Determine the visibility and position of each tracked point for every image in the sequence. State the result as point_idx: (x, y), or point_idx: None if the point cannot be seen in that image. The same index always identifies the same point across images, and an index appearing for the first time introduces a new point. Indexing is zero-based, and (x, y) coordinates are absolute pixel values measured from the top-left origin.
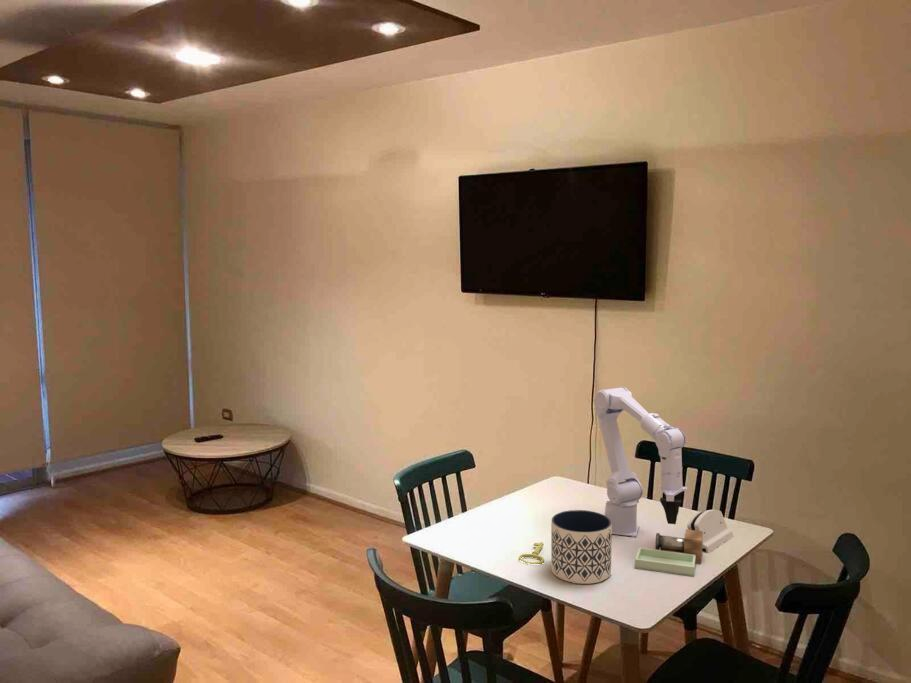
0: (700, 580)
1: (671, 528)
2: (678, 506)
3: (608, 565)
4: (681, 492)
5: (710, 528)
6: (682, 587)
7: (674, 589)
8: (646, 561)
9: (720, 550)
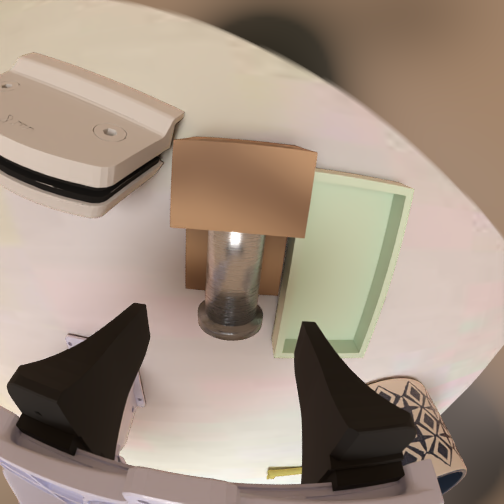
0: (420, 165)
1: (27, 246)
2: (390, 404)
3: (419, 397)
4: (67, 403)
5: (61, 112)
6: (456, 222)
7: (463, 243)
8: (373, 330)
9: (146, 71)
